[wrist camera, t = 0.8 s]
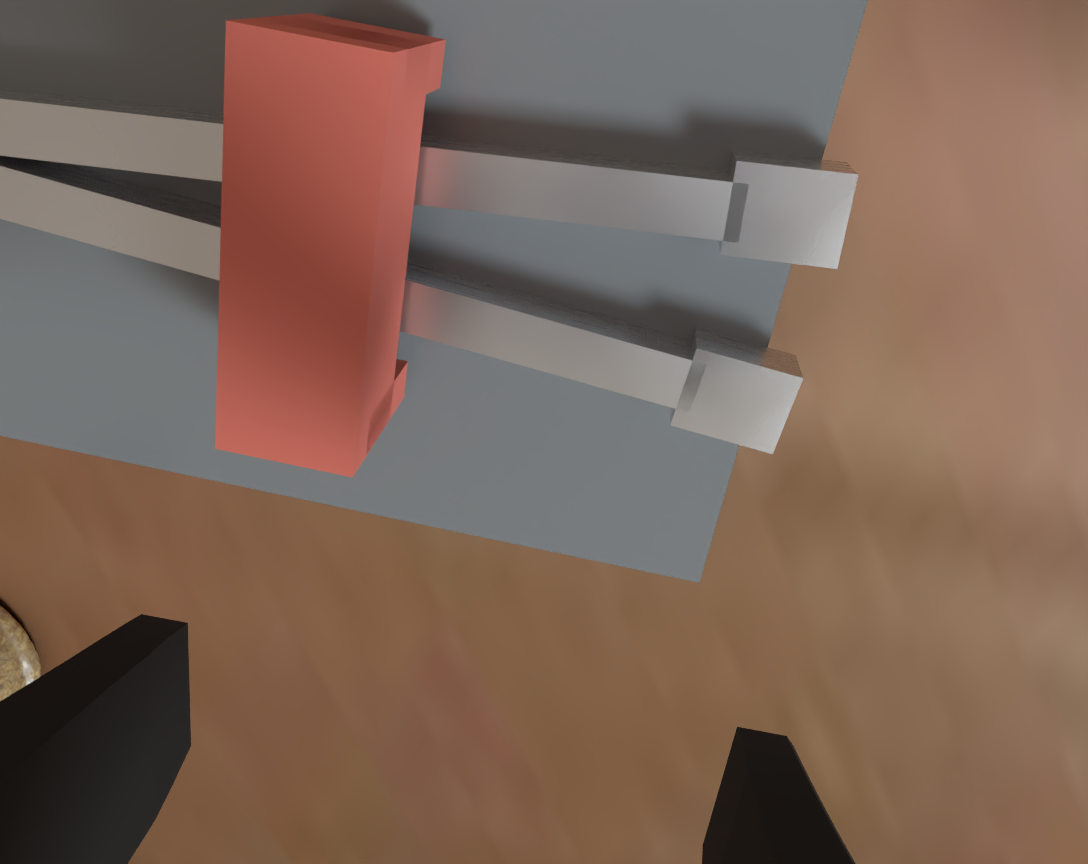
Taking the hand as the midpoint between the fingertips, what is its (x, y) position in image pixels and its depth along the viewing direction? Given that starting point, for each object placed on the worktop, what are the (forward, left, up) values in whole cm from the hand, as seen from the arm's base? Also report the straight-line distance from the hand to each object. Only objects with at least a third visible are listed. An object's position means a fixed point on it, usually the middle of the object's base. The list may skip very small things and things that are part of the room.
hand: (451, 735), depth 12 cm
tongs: (+6, -4, -9) cm, 11 cm away
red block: (+4, -4, -8) cm, 10 cm away
